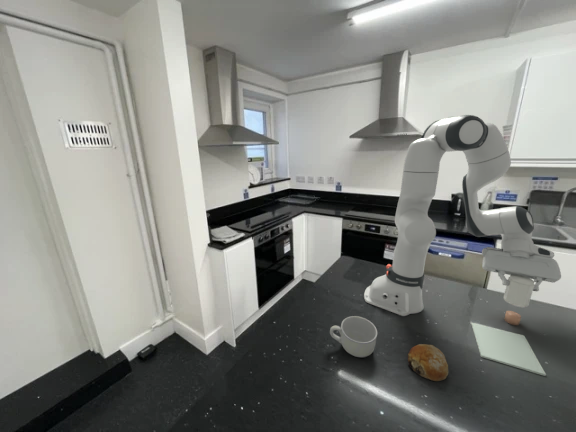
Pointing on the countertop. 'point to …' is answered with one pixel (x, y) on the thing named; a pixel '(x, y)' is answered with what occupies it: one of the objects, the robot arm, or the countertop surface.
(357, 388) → the countertop surface
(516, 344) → the mat
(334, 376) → the countertop surface
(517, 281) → the domed hexagonal post
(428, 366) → the bread roll
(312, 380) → the countertop surface
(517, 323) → the brown egg
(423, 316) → the countertop surface
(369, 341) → the teacup
